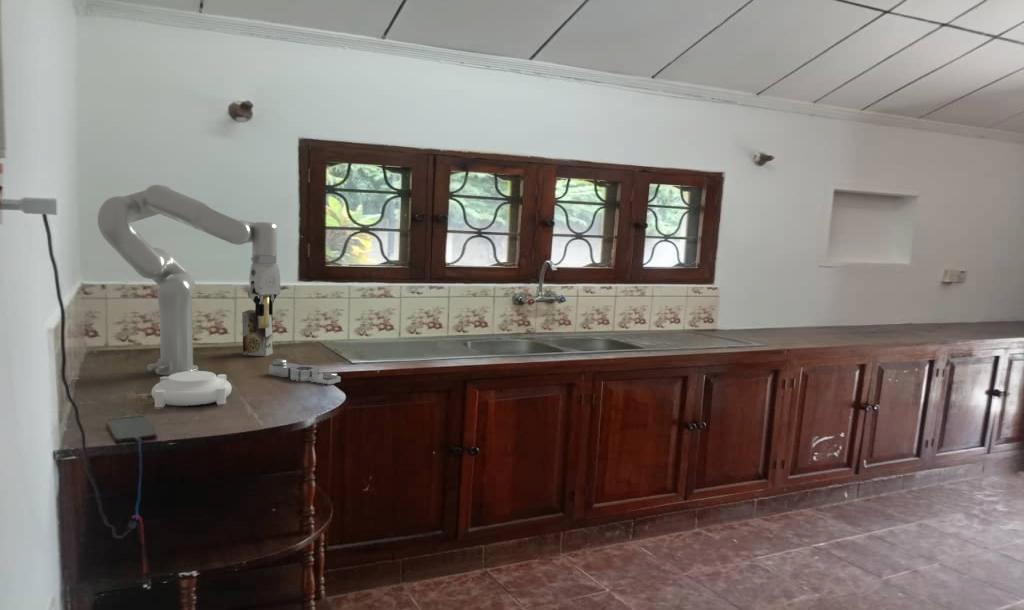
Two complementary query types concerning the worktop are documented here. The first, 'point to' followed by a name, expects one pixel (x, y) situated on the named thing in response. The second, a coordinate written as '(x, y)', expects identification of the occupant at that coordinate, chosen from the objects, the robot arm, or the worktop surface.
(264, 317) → the pin
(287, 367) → the link
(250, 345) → the coffee box
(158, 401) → the round stand with pegs
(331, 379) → the link
